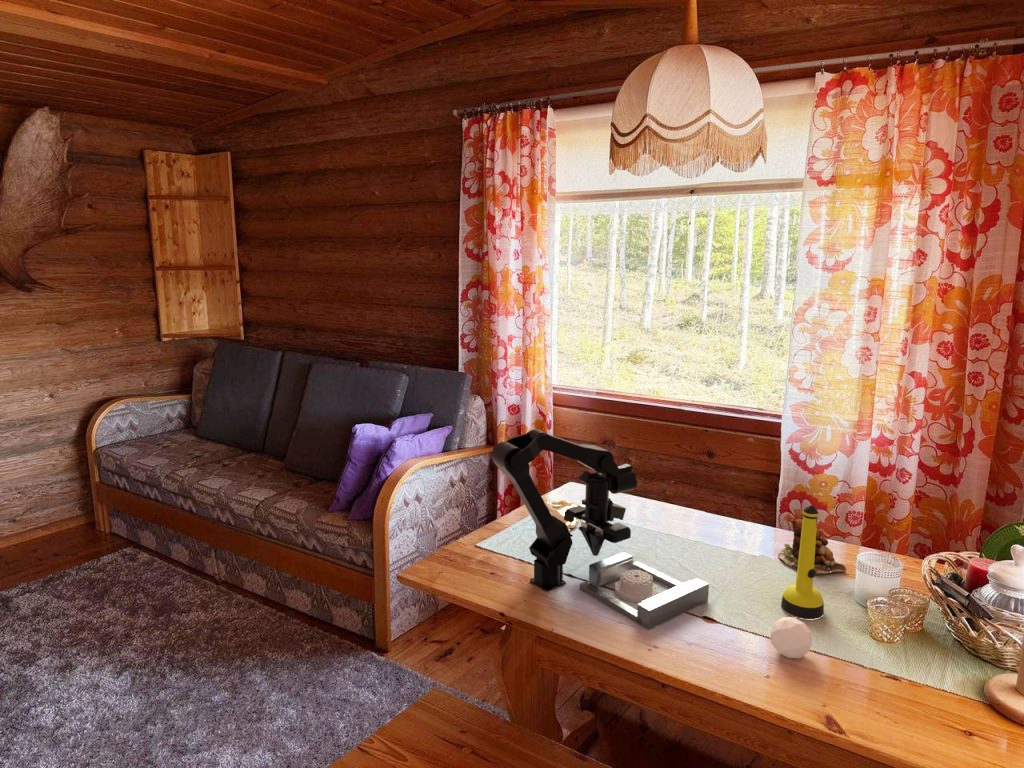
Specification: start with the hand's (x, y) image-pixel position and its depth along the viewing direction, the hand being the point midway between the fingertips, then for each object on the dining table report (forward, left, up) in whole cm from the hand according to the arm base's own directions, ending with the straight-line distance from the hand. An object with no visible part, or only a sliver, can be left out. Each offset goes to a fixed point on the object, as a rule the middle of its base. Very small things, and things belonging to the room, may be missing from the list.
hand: (595, 555), depth 171 cm
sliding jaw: (0, -6, -4) cm, 7 cm away
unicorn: (+17, +30, -5) cm, 35 cm away
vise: (0, -15, -4) cm, 16 cm away
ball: (+6, -50, -4) cm, 51 cm away
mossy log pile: (+48, -31, -4) cm, 57 cm away
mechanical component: (0, -14, -5) cm, 15 cm away
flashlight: (+24, -42, -4) cm, 49 cm away
